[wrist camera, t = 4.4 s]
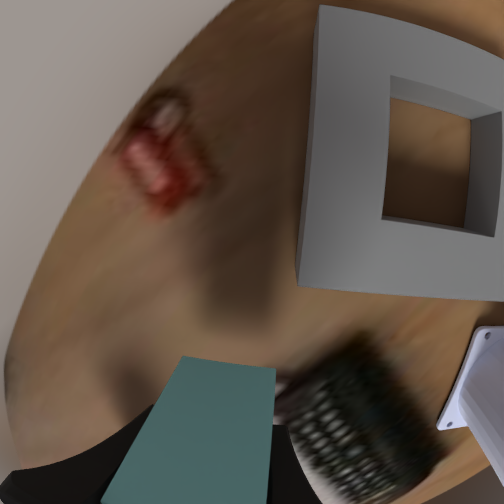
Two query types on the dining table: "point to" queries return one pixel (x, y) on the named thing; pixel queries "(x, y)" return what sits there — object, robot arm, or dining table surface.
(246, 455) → the peg
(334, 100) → the socket block
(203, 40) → the dining table surface
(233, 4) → the dining table surface
